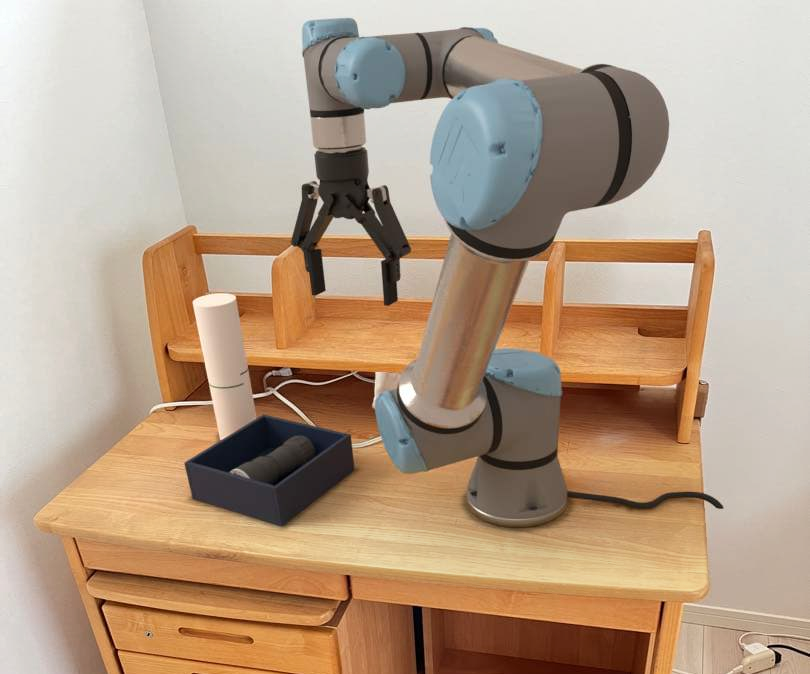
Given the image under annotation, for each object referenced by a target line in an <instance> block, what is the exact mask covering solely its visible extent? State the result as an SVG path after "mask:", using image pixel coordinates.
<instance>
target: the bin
mask: <svg viewBox="0 0 810 674" xmlns="http://www.w3.org/2000/svg"><path fill="white" fill-rule="evenodd" d="M256 418H257V419H255V420H253V421H252V422H250V423H249V424H247V425H245V426H244V427H242V428H240V429H239V430H237V431H235V432H234V433H232V434H231V435H229V436H227V437H226V438H224V439H222V440H219V441H217V442H216V443H214V444H212V445H211V446H209V447H207V448H206V449H204V450H202V451H201V452H200V453H197V454H196V455H194V456H193V457H191V458H189V459H188V460H186V461H185V462H184V463H183V464H184V468H185V473H186V477H187V480H188V485H189V489H190V494H191V499H192V500H195V501H197V502H202V503H205V504H208V505H212V506H214V507H218V508H221V509H223V510H227V511H231V512H234V513H237V514H240V515H243V516H247V517H250V518H253V519H257V520H260V521H263V522H266V523H269V524H273V525H276V526H279V527H284V526H285V525H286V524H287V523H289V522H290V521H291V520H292V519H294V518H295V517H296V516H297V515H299V514H300V513H301V512H303V511H304V510H306V508H308V507H309V506H310V505H311V504H313V503H314V502H315V501H317V500H318V499H319V498H321V497H322V496H323V495H324V494H326V493H327V492H328V491H330V490H331V489H332V488H334V487H335V486H336V485H337V484H338V483H340V482H341V481H342V480H344V479H345V478H346V477H348V476H349V475H351V474H352V473H353V472H354V471H355V461H354V452H353V442H352V435H351V433H346V432H341V431H337V430H333V429H330V428H329V429H328V428H324V427H320V426H315V425H311V424H308V423H307V424H306V423H303V422H299V421H295V420H290V419H285V418H281V417H277V416H273V415H269V414H264V413H263V414H262V415H260V416H258V417H256ZM294 436H305V437H307V438H308V439H309V440H310V441H311V442H312V444H313V446H314V449H315V457H314V458H313V459H312V460H310V461H309V462H307V463H306V464H305V465H303V466H302V467H300V468H299V469H296V470H294V471H292V472H291V473H287V474H286V475H284V476H282V477H281V478H279V479H278V480H277V482H276V483H275V484H274V485H271V484H267V483H263V482H260V481H256V480H253V479H249V478H246V477H242V476H239V475H235V474H231V473H229V472H230V471H231V470H233V469H235V468H237V467H239V466H240V465H242V464H244V463H246V462H251V461H253V460H254V459H256V458H258V457H260V456H263V457H265V456H266V455H268V454H270V453H272V452H273V451H275V449H277V448H279V447H281V446H282V445H283V444H284V442H285V441H287V440H288V439H290V438H292V437H294Z"/></svg>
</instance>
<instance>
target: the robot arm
mask: <svg viewBox="0 0 810 674" xmlns="http://www.w3.org/2000/svg"><path fill="white" fill-rule="evenodd" d="M301 41H302V50H301V55H302V58H303V64H304V74H305V80H306V81H305V83H306V90H307V91H306V92H307V99H308V108H309V116H310V117H309V119H310V128H311V138H312V139H311V140H312V146H313V147H314V148H315V149H317V150H316V151H315V153H314V164H315V175H316V178H317V180H319V184H318V182H317V181H315V180H311V181H309V182H306V183H303V184H302V185H301V201H300V205H299V210H298V213H297V217H296V221H295V226H294V229H293V232H292V236H291V240H290V244H291V246H292V247H294V248H296V247H297V248H299V249H300V250H301V252H302V253H303V259H304V268H305V271H306V273H308V275H309V282H310V290H311V296H314V297H316V296H318V295H321V294H322V293H325V292H326V291H327V289H326V280H325V272H324V263H323V254H322V253H323V252H322V248H318V247H319V245H318V244H319V243H320V242H321V240H322V238H323V236H324V234H325V233H326V231H327V229H328V228H329V226H330V224H331V223H332V221H333V219H341V218H343V219H346V220H355V221H356V223H358V224H359V225H361V226H362V227H363V229H364V230H365V232H366V233H367V235H368V236H369V237H370V239H371V240H372V241H373V243H374V245H375V246H376V247H377V249H378V250H379V251H380V253H381V254H382V256H383V258H385V259H383V260H381V261H380V266H381V267H380V269H381V280H382V282H381V283H382V293H383V295H382V296H383V306H386V307H389V306H391V305H392V304H395V303H397V302H398V301H399V298H398V297H399V296H398V295H399V294H398V281H400V280H401V262H400V261H401V259H402V258H404V257H405V256H407V255H409V254H411V253H412V248H411V245H410V243H409V240H408V239H407V236H406V233H405V232H404V229H403V227H402V225H401V223H400V220H399V218H398V216H397V213H396V211H395V209H394V207H393V205H392V202H391V197H390V191H389V187H388V186H387V185H386V184H384V185H381V186H377V187H370V184H369V182H368V180H369V174H370V168H369V156H368V155H369V154H368V150H367V149H366V147H364V145H365V144H366V143H367V131H366V119H365V110H371V109H383V108H386V107H388V106H389V105H391V104H398V103H405V102H407V103H408V102H413V101H423V100H431V99H442V98H444V99H445V98H446V99H450V101H448V103H447V105H446V106H445V107H444V109H443V111H442V112H441V115H440V116H439V120H437V124H436V126H435V129H434V133H433V137H432V140H431V147H430V155H429V157H430V158H429V164H430V165H431V167H432V172H431V174H430V177H429V178H430V185H431V191H432V196H433V199H434V202H435V205H436V207H437V210H438V211H439V214H440V216H441V217H442V218H443V221H444V222H445V225H446V227H447V229H448V231H449V232H450V237H449V240H448V244H447V248H446V252H445V255H444V258H443V263H442V266H441V270H440V273H439V278H438V280H437V284H436V287H435V292H434V296H433V298H432V303H431V306H430V311H429V314H428V316H427V317H428V318H427V321H426V325H425V329H424V333H423V336H422V339H421V344H420V347H419V351H418V354H417V358H415V359H413V360H412V361H411V362H410V363H408V364H407V365H406V366H405V367H404V369H403V370H402V372H401V373H400V374H401V376H400V379H399V383H398V387H397V389H394V390H391V391H390V390H389V389H387V390H386V391H385V392H382V393H380V394H378V396H377V397H376V400H375V409H374V413H375V419H376V423H377V428H378V431H379V434H380V437H381V440H382V443H383V446H384V448H385V451H386V453H387V455H388V457H389V458H390V461H391V462H392V463H393V466H395V468H396V469H397V470H399V471H400V472H401V473H403V474H406V475H413V474H417V473H422V472H423V473H428V472H429V471H432V470H436V469H438V468H442V467H445V466H450V465H452V464H456V463H460V462H463V461H466V460H470V459H474V458H476V461H475V464H474V466H473V469H472V472H471V474H470V478H469V481H468V483H467V488H466V492H465V494H466V505H467V509H469V511H470V513H472V514H473V515H474V516H475V517H477V518H478V519H480V520H482V521H484V522H486V523H489V524H492V525H496V526H500V527H505V528H506V527H507V528H528V527H529V528H530V527H535V526H536V527H537V526H541V525H544V524H547V523H549V522H552V521H554V520H556V519H557V518H559V517H560V516H561V515H562V514H563V513H564V512H565V510H566V508H567V506H568V498H569V499H576V500H577V499H578V500H587V501H595V502H603V503H611V504H616V505H620V506H625V507H628V508H632V509H637V510H638V509H639V510H646V509H652V508H655V507H657V506H659V505H660V504H661V503H663V502H665V501H668V500H672V499H697V500H701V501H702V500H703V501H705V502H707V503H709V504H711V505H712V506H713V507H714V508H715V509H719V510H723V509H725V507H724V506H723V504H722V503H721V502H720V501H719V500H718V499H716V498H715V497H713V496H712V495H710V494H708V493H704V492H699V491H671V492H666V493H663V494H661V495H659V496H658V497H656V498H655V499H653V500H651V501H646V502H644V501H643V502H642V501H641V502H639V501H634V500H630V499H627V498H622V497H617V496H611V495H603V494H595V493H587V492H580V491H579V492H578V491H569V490H568V486H567V483H566V480H565V476H564V473H563V471H562V467H561V464H560V461H559V457H558V454H559V433H560V417H561V416H560V415H561V399H562V398H561V397H562V396H563V390H562V372H561V368H560V366H559V364H558V363H557V362H556V361H555V360H554V359H552V358H551V357H550V356H549V357H548V356H547V355H545V354H542V353H539V352H536V351H533V350H527V349H521V348H508V347H507V348H496V347H497V344H498V342H499V340H500V338H501V334H502V332H503V329H504V327H505V324H506V321H507V319H508V316H509V314H510V311H511V309H512V306H513V303H514V301H515V298H516V296H517V293H518V291H519V288H520V286H521V283H522V280H523V278H524V275H525V273H526V271H527V268H528V265H529V263H530V261H531V260H533V259H535V258H537V257H539V256H541V255H542V254H544V253H545V252H546V251H548V249H549V248H550V247H551V246H552V245H553V243H554V241H555V239H556V236H557V233H558V231H559V229H560V226H561V224H562V222H563V219H564V217H565V216H566V215H567V214H568V213H570V212H571V213H572V212H576V211H582V210H587V209H592V208H597V207H598V208H599V207H603V206H608V205H612V204H615V203H617V202H619V201H622V200H624V199H626V198H628V197H630V196H631V195H633V194H634V193H635V192H636V191H638V190H640V189H641V188H642V187H643V186H644V185H645V184H646V183H647V182H648V181H649V179H651V178H652V177H653V175H654V173H655V172H656V170H657V168H658V167H659V165H660V164H661V162H662V161H663V158H664V155H665V152H666V149H667V146H668V142H669V138H670V137H669V135H670V118H669V110H668V108H667V105H666V101H665V99H664V97H663V95H662V93H661V92H660V90H659V89H658V88H657V86H656V85H655V84H654V82H653V81H651V80H650V79H649V78H647V77H646V76H645V75H643V74H640V73H639V72H637V71H633V70H630V69H626V68H621V67H617V66H615V65H611V64H607V63H595V64H591V65H588V66H586V67H584V68H580V67H577V66H574V65H570V64H567V63H563V62H560V61H558V60H554V59H551V58H548V57H545V56H541V55H539V54H535V53H532V52H528V51H525V50H521V49H519V48H514V47H512V46H508V45H505V44H502V43H499V41H498V39H497V38H495V35H494V32H492V31H491V30H490V29H488V28H486V27H470V26H469V27H468V26H461V27H460V28H459V27H458V28H454V29H446V30H436V31H425V32H409V33H397V34H396V33H395V34H385V35H384V34H383V35H371V36H360V34H359V27H358V24H357V21H356V20H355V19H354V18H353V17H336V18H335V17H334V18H324V19H323V18H321V19H312V20H307V21H305V22H304V23H303V25H302V27H301ZM319 198H320V199H321V201H322V202H323V203H322V205H321V207H320V209H319V211H318V212H317V217H316V218H315V220H314V215H315V213H316V212H315V211H316V208H317V205H318V199H319ZM369 201H370V203H371V204H373V206H374V209H373V207H372V205H371V204H370V203H369ZM376 214H377V215H376ZM313 220H314V222H313Z"/></svg>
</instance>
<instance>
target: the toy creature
mask: <svg viewBox="0 0 810 674" xmlns="http://www.w3.org/2000/svg"><path fill="white" fill-rule="evenodd" d="M374 373H375V376H374V381H375V382H374V392H373V393H374V397H373V401H372V403H371V404H372V405H371V406H372V409H374V410H375V400H376V397H377V396H378V394H380V393H382V392H385V391H386V390H387V389H389V390H390V391H391V390H394V389H397V387H398V383H399V379H400V376H401V374H402V373H400V374H399V373H389V372H375V371H374Z"/></svg>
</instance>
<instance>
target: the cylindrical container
mask: <svg viewBox="0 0 810 674" xmlns="http://www.w3.org/2000/svg"><path fill="white" fill-rule="evenodd" d="M192 308H193V313H194V317H195V321H196V327H197V331H198V332H197V333H198V336H199V341H200V346H201V347H200V348H201V351H202V356H203V361H204V367H205V370H206V371H205V372H206V377H207V380H208V386H209V392H210V397H211V400H212V407H213V411H214V416H215V422H216V426H217V432H218V436H219V441H221V440H222V439H224V438H226V437H227V436H229V435H231V434H232V433H234V432H235V431H237V430H239V429H240V428H242V427H244V426H245V425H247V424H249V423H250V422H252V421H253V420H255V419H257V418H258V417H257V413H256V406H255V400H254V395H253V389H252V384H251V383H252V382H251V377H250V372H249V366H248V360H247V353H246V349H245V343H244V337H243V330H242V325H241V319H240V314H239V308H238V301H237V296H236V295H235V294H232V293H228V292H227V293H225V292H219V293H218V292H217V293H210V294H205V295H202V296H198V297H197V298H195V299H193V300H192Z"/></svg>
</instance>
